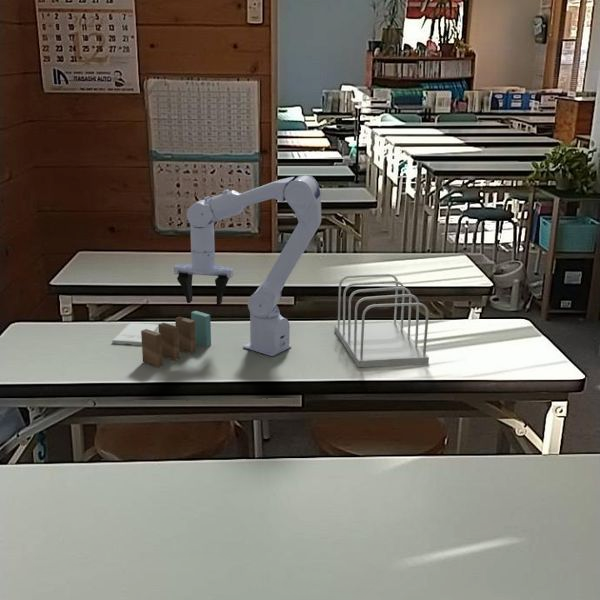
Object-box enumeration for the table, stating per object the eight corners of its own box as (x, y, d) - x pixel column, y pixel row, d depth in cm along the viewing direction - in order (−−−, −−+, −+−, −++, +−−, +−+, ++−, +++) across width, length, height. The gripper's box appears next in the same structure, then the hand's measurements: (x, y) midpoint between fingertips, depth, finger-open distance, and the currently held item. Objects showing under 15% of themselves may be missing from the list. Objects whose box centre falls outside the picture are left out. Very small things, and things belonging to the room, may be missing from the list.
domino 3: (181, 346, 183) (180, 316, 181) (195, 351, 181) (194, 320, 178) (176, 348, 182) (175, 318, 180) (191, 353, 179) (190, 322, 177)
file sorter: (428, 364, 175) (433, 302, 170) (358, 369, 172) (360, 306, 167) (396, 327, 198) (400, 272, 193) (333, 331, 195) (335, 275, 190)
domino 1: (148, 360, 175) (146, 328, 172) (162, 365, 172) (161, 333, 170) (142, 362, 174) (141, 330, 171) (157, 367, 171) (156, 335, 168)
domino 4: (196, 340, 188) (195, 310, 185) (211, 344, 185) (210, 314, 182) (192, 342, 186) (191, 312, 184) (206, 346, 184) (205, 316, 181)
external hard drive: (159, 330, 196) (143, 347, 184) (129, 328, 196) (112, 345, 185) (158, 324, 195) (143, 341, 183) (129, 322, 196) (111, 339, 184)
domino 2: (165, 353, 179) (163, 322, 177) (179, 358, 176) (178, 327, 174) (160, 355, 178) (158, 324, 175) (174, 360, 175) (173, 329, 173)
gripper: (168, 252, 176) (171, 306, 181) (227, 256, 174) (228, 310, 178) (178, 245, 183) (180, 297, 187) (235, 248, 181) (235, 301, 185)
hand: (204, 302), depth 183 cm, fingers open, 7 cm apart
